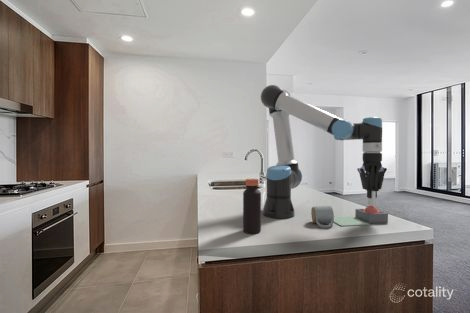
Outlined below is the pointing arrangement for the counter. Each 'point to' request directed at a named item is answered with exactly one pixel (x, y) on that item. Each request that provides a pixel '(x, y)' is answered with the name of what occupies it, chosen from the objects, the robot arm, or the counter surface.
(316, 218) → the ceramic mug
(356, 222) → the sage square
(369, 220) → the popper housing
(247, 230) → the bottle
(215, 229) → the counter surface
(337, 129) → the robot arm
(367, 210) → the red dome
